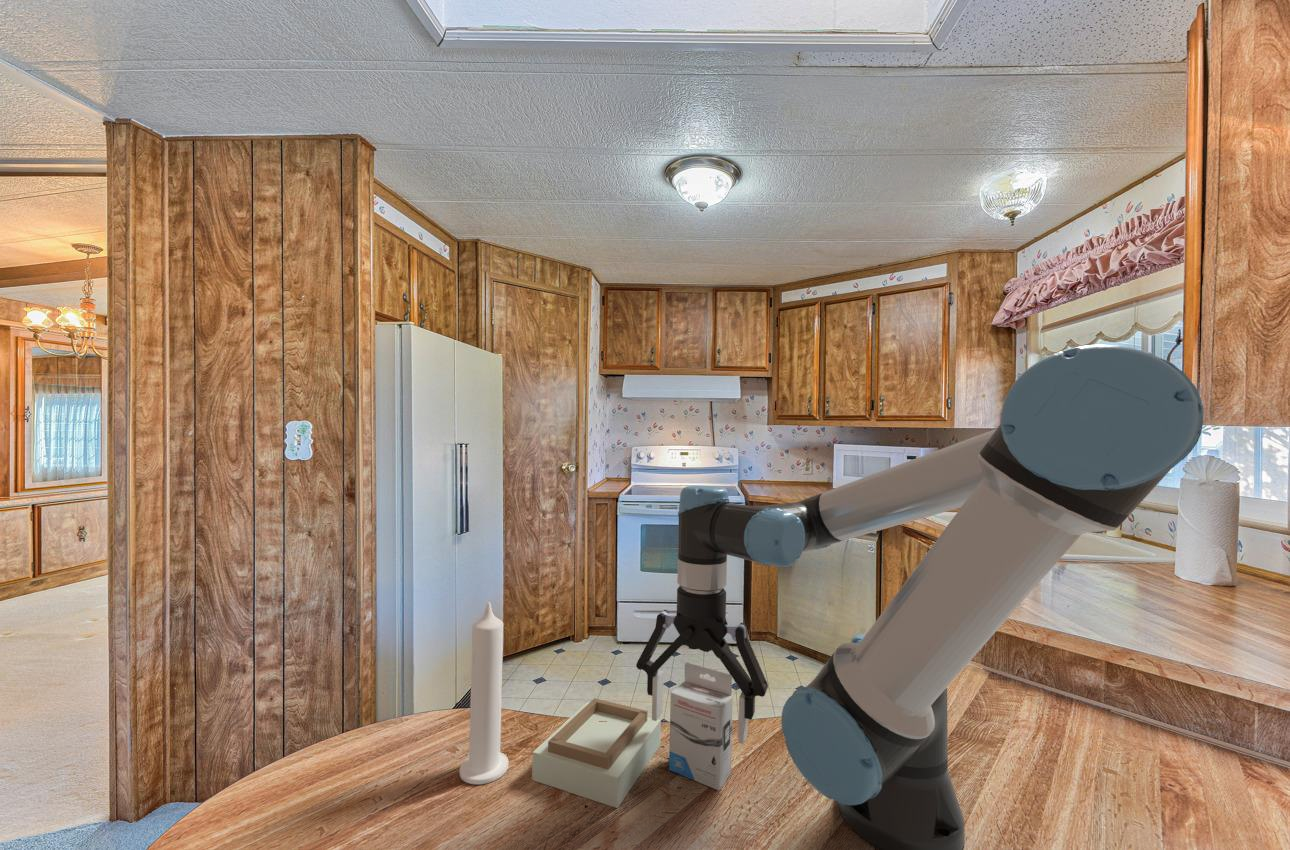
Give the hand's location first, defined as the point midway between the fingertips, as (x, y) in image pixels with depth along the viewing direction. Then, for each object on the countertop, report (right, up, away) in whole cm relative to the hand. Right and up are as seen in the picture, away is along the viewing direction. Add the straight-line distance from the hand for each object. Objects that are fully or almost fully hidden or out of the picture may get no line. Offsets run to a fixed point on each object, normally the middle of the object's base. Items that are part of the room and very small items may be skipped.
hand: (698, 727), depth 77 cm
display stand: (-15, -6, +2) cm, 16 cm away
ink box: (0, -7, -1) cm, 7 cm away
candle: (-33, -6, -1) cm, 33 cm away
